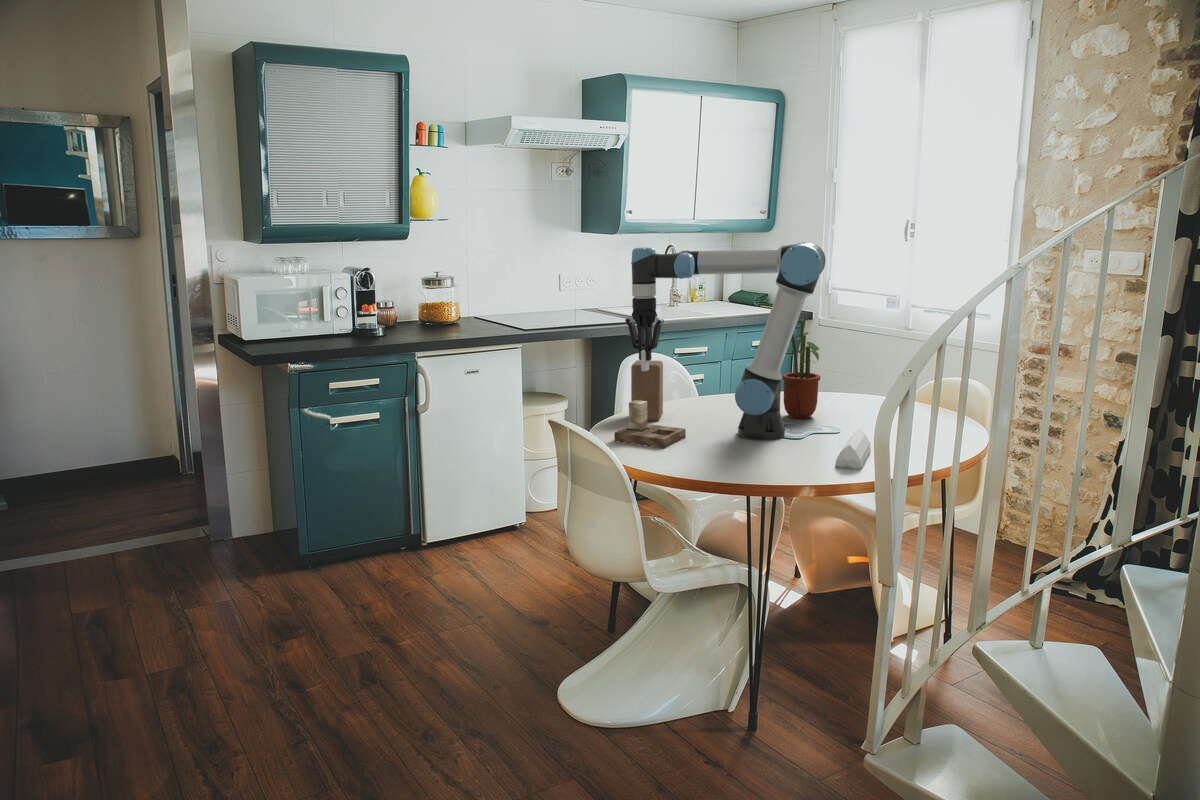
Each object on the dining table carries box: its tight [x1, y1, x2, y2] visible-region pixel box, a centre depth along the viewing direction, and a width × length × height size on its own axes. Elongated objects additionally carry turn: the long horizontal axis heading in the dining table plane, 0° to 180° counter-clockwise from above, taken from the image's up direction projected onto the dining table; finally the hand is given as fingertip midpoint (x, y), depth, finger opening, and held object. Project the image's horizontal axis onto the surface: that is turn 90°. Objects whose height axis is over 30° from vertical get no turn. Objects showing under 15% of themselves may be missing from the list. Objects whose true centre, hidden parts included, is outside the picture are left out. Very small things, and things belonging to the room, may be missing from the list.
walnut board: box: [613, 423, 687, 449], centre depth 301 cm, size 18×15×3 cm
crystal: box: [835, 428, 871, 470], centre depth 276 cm, size 7×7×24 cm
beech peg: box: [628, 400, 648, 432], centre depth 302 cm, size 4×4×12 cm
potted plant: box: [781, 318, 821, 420], centre depth 328 cm, size 17×16×35 cm
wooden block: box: [630, 359, 664, 422], centre depth 328 cm, size 10×10×20 cm
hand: (645, 370), depth 299 cm, fingers closed
